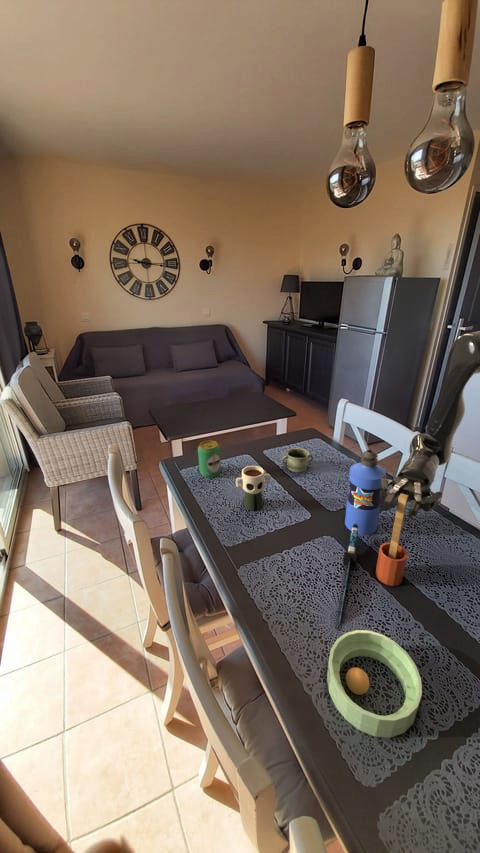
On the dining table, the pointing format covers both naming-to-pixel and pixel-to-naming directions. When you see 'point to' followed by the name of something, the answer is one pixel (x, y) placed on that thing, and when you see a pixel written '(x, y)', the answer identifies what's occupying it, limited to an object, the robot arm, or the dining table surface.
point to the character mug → (253, 486)
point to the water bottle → (364, 494)
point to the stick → (398, 525)
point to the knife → (350, 558)
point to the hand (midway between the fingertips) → (399, 509)
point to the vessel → (297, 459)
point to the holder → (390, 565)
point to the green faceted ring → (388, 655)
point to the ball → (357, 681)
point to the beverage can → (209, 459)
